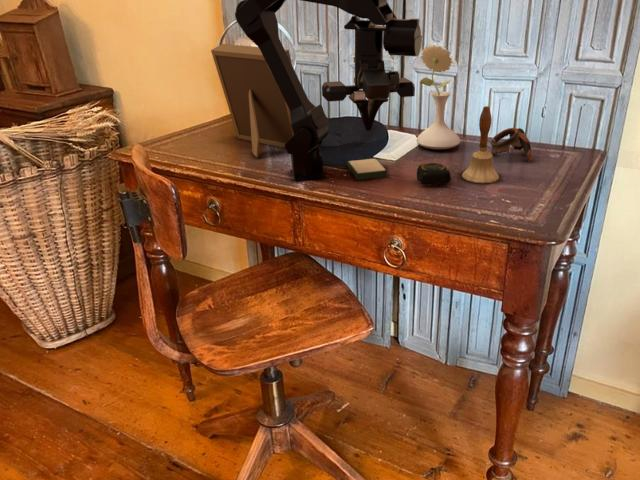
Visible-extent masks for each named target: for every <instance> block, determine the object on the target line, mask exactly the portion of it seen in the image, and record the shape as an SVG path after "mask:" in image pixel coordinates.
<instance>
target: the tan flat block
mask: <svg viewBox="0 0 640 480" xmlns="http://www.w3.org/2000/svg"><path fill="white" fill-rule="evenodd" d="M346 163H347V169H348V170H349V172H351V174H352V175H353V176H354V178H355V179H356V181H361V180H370V179H379V178H386V177H387V170H386V168H385V167H384V166H383V165H382V164H381V163H380V162H379V161H378V160H377V159H376V158H366V159H357V160H348V161H347V162H346Z"/></svg>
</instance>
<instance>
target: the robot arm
mask: <svg viewBox="0 0 640 480" xmlns="http://www.w3.org/2000/svg"><path fill="white" fill-rule="evenodd" d="M286 1H287V0H240V2H238V4H237V5H236V8H235V12H234V18H235V20H236V22H237V24H238V26H239V27H240V29H241V31H242V32H243V33H244V35H245V36H246V37H247V38H248V39H249V40H250V41H251V42H252V43H253V44H255V45H256V47H259V49H260V51H261V53H262V55H263V57H264V59H265V61H266V63H267V65H268V67H269V69H270V71H271V73H272V75H273V77H274V79H275V81H276V83H277V85H278V87H279V90H280V92H281V94H282V96H283V98H284V100H285V102H286V104H287V106H288V108H289V110H290V122H291V127H292V130H293V134H294V136H293V137H292V138H291V139H290V140H289V141H288V142H287V143H286V144H285V150H286V153H287V154H288V155H290V161H291V162H290V163H291V169H290V174H291V176H292V177H293V180H294V181H305V180H314V179H322V178H323V173H324V166H323V165H324V164H323V163H324V162H323V155H322V154H321V151H320V150H321V149H320V148H319V146H320V147H321V145H322V144H323V140H324V139H325V138H327V136H328V134H329V131H330V125H329V123H328V122H330V119H329V117H327V115H326V113H325V110H324V107H323V105H322V104H318V105H314V103H312V101H310V100H309V97H308V96H307V93H306V91H305V90H304V88H303V85H302V83H301V81H300V79H299V77H298V75H297V72H296V70H295V68H294V67H293V63H292V61H291V62H290V60H289V58H288V56H287V54H286V52H285V50H286V48H284V45H283V43H282V41H281V39H280V35H279V34H280V33H279V22H278V19H277V15H276V13H277V12H278V11H279V10H280V9H281V8H282V7H283V5H284V4H285V3H286ZM301 1H303V2H307V3H313V4H319V5H326V6H331V7H335V8H338V9H340V10H341V11H343V12H345V13H347V14H350V15H352V16H350V19H349V21H348V22H347V23H345V24H344V26H343V28H344V29H345V30H353V31H354V57H353V63H354V77H353V84H352V85H351V84H350V85H345V84H344V83H343V82H342V81H340V80H339V81H324V82H323V83H322V85H321V96H322V97H323V98H324V99H325V101H326V102H344V100H345V99H346V98H347V96H348V99H349V100H350V101H351V102H352V103H353V104H355V106H356V107H357V109H358V111H359V114H360V118H361V120H362V123H363V127H364V128H365V131H366V132H370V131H372V128H373V125H374V122H375V119H376V117H377V115H378V112H379V110H380V108H381V106H382V105H383V104H384V103H387V102H389V98H390V94H391V93H397V95H398V96H399V97H400V98H410V97H414V96H415V94H416V86H415V83H413V81H411V80H409V79H408V78H407V77H400V73H399V71H397V70H394V71H388V72H387V71H386V68H385V60H384V51H385V52H387V53H388V55H389V56H398V57H414V58H415V57H419V56H420V53H421V48H422V41H423V35H422V30H421V26H420V19H419V18H409V19H408V18H398V17H397V16H396V14H395V12H394V11H393V9H392V8H391V6H390V4H389V2H388V0H300V2H301ZM291 63H292V64H291Z"/></svg>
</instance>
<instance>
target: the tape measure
mask: <svg viewBox="0 0 640 480" xmlns="http://www.w3.org/2000/svg"><path fill="white" fill-rule="evenodd" d="M451 175H452V174H451V172H450V170H449V169H447V167H446V165H444V164H442V163H438V162H425V163H422V164H420V165H418V166H417V169H416V180H417V182H418V183H420V184H421V185H426V186H432V187H433V186H436V185H445V184H450V182H451V181H452V176H451Z"/></svg>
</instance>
